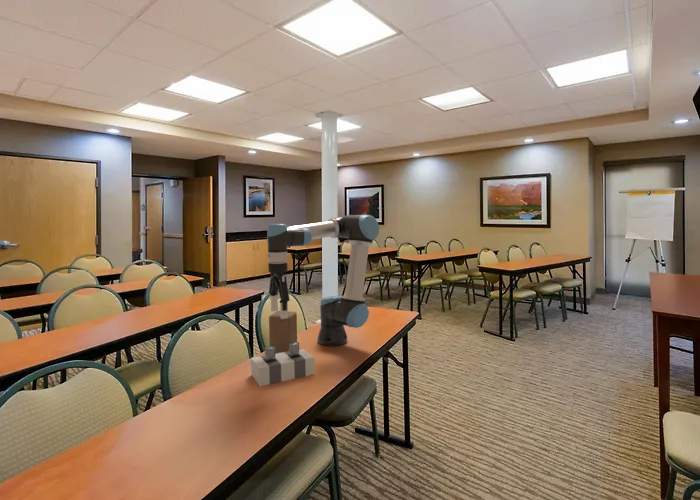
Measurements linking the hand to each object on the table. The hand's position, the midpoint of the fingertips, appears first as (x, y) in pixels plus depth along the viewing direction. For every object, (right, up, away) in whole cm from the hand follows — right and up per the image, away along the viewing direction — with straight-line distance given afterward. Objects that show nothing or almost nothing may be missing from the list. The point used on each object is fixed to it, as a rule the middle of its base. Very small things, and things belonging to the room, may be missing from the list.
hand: (279, 314), depth 155 cm
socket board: (+2, -24, -2) cm, 24 cm away
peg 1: (-3, -19, -4) cm, 20 cm away
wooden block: (-1, -22, +18) cm, 29 cm away
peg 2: (+6, -19, 0) cm, 20 cm away
